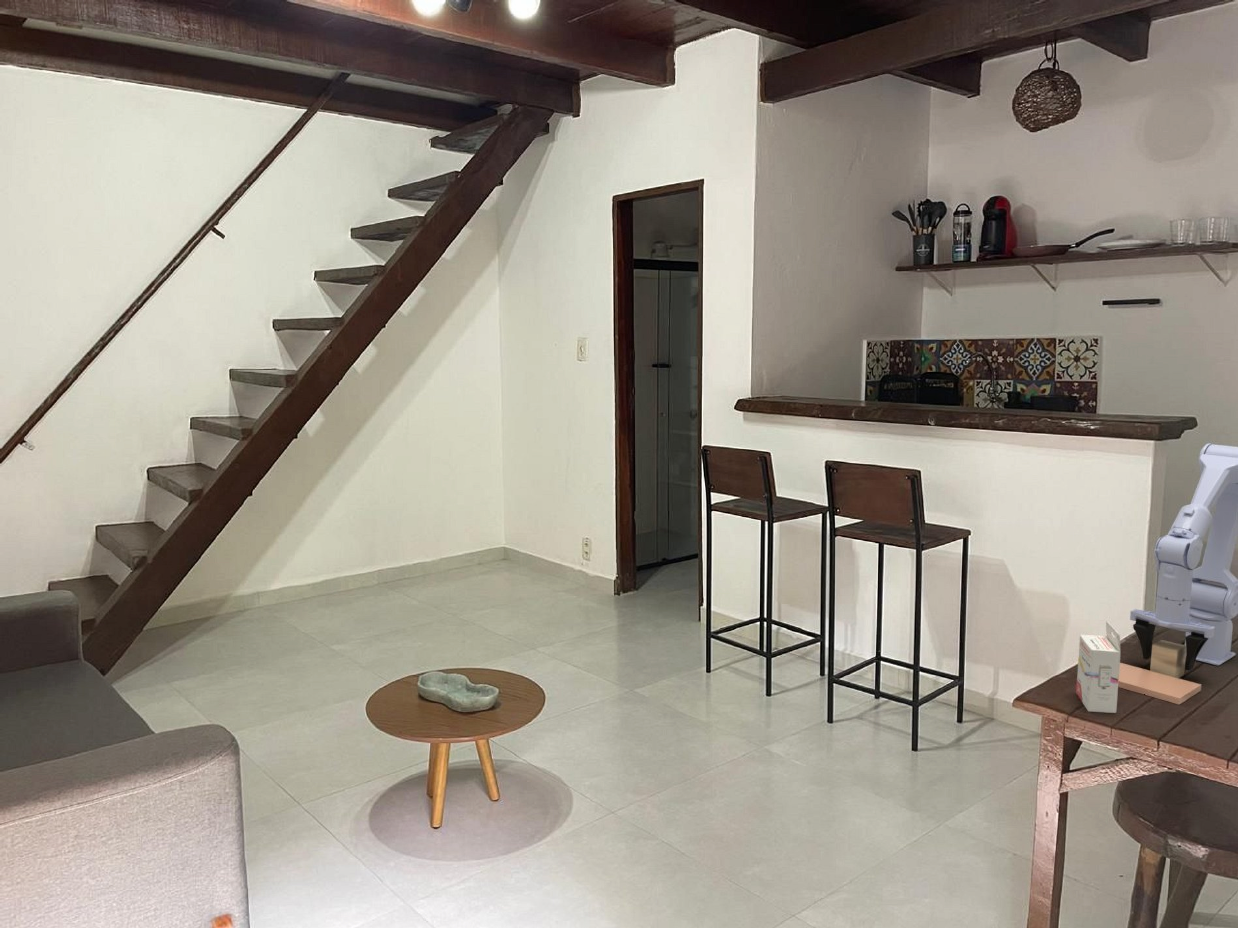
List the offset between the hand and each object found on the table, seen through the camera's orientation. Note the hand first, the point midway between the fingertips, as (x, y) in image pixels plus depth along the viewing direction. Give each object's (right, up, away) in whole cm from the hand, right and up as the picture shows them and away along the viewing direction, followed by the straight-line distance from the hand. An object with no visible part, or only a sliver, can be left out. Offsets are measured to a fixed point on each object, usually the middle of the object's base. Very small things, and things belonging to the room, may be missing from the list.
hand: (1167, 663), depth 183 cm
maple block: (0, -2, 0) cm, 2 cm away
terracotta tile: (-7, -3, -5) cm, 9 cm away
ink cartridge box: (-21, -5, -13) cm, 25 cm away
